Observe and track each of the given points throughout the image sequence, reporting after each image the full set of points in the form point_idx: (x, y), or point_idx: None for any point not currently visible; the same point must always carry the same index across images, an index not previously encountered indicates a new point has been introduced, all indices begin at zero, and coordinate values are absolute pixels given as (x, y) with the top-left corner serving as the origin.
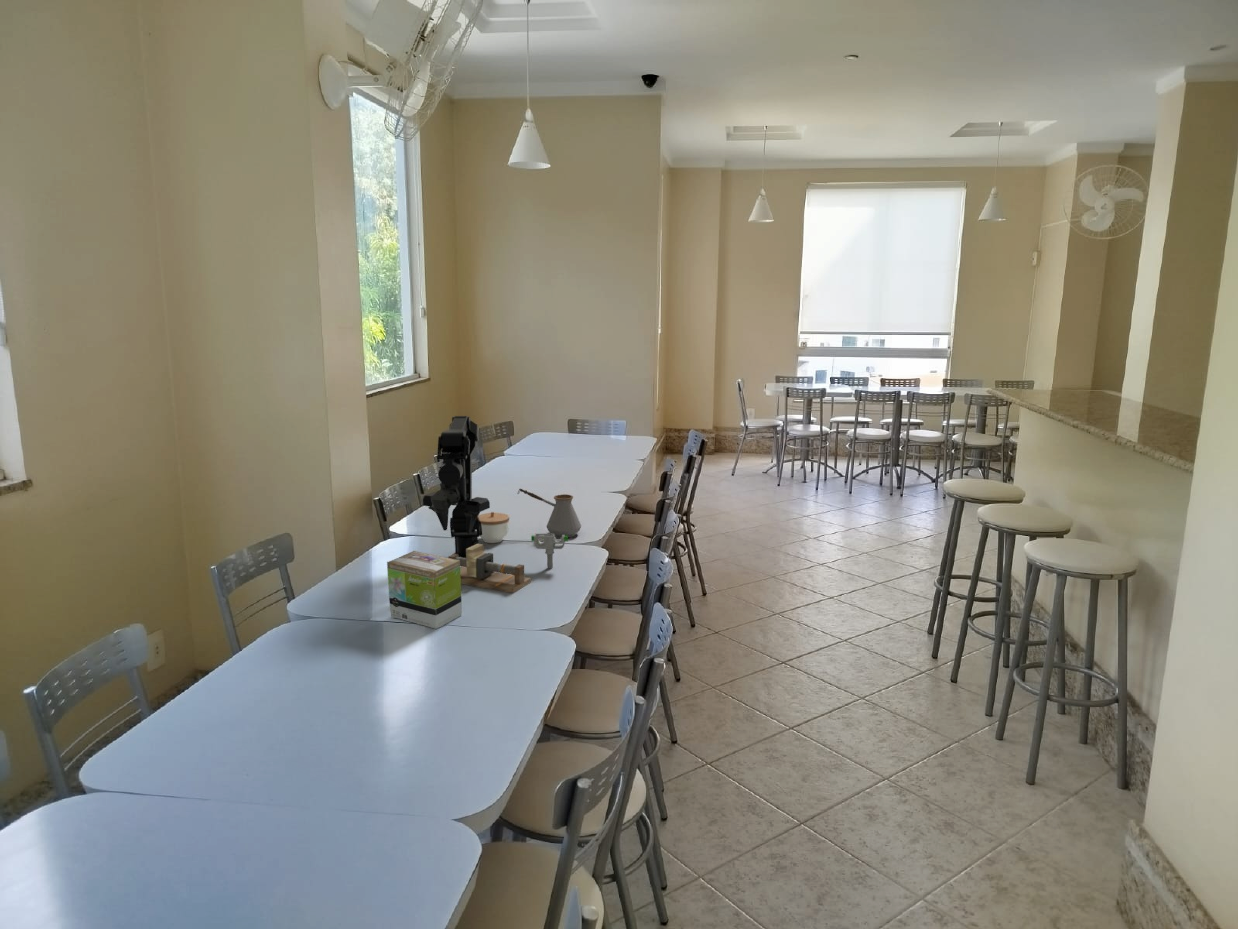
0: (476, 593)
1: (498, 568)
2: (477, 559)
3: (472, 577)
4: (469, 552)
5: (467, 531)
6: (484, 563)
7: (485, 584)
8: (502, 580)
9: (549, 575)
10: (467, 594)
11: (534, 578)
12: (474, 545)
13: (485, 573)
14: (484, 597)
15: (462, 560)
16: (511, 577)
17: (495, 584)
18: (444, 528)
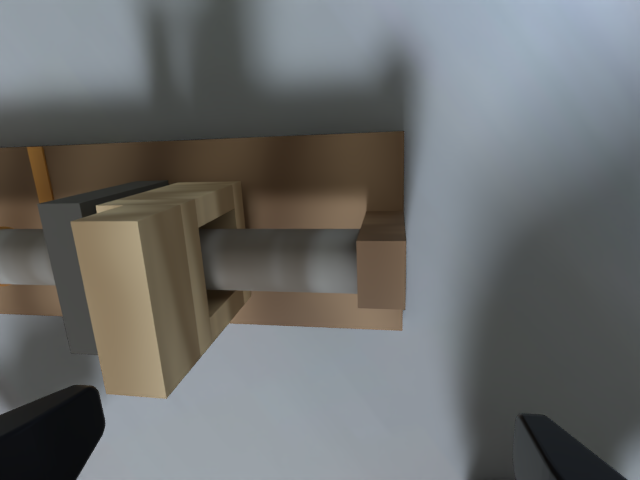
0: (98, 52)
1: (6, 232)
2: (78, 203)
3: None
4: (118, 216)
5: (57, 401)
6: None
7: (98, 144)
8: None
9: (8, 403)
10: (126, 11)
11: (29, 352)
12: (151, 348)
13: None
14: (26, 23)
15: (280, 243)
16: None
17: (50, 163)
18: (527, 434)
